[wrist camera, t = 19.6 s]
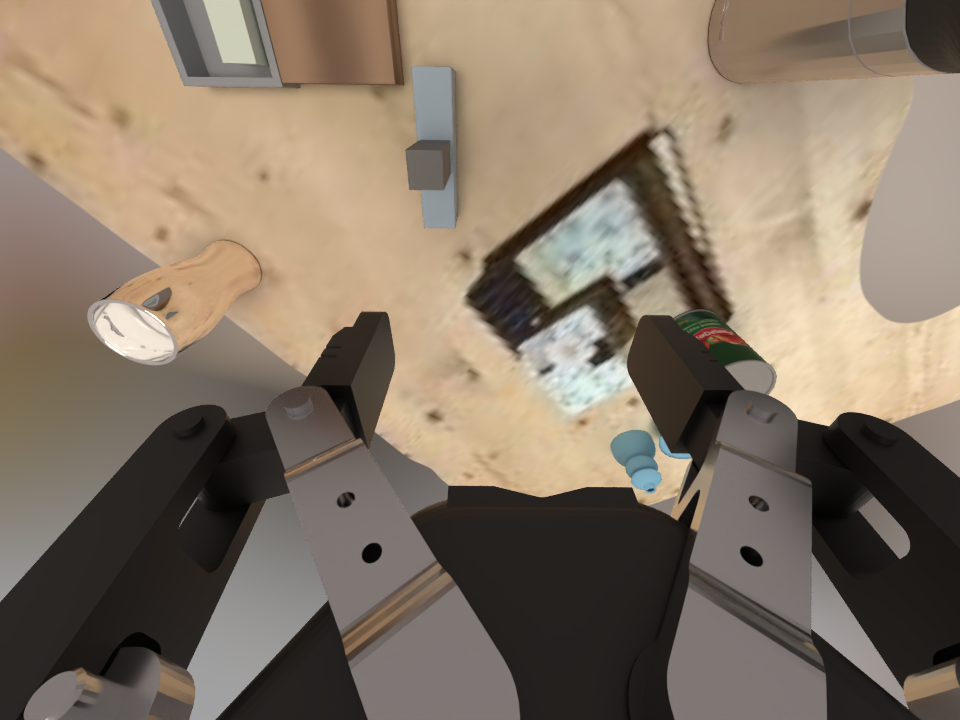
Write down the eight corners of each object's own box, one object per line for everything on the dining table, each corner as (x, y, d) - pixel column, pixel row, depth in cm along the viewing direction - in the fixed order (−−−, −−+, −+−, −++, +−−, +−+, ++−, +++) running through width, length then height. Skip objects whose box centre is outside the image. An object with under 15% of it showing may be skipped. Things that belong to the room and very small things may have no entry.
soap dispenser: (698, 380, 52) (733, 426, 45) (729, 414, 56) (765, 462, 49) (596, 438, 60) (612, 485, 52) (630, 465, 64) (649, 512, 57)
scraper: (455, 71, 31) (442, 59, 21) (457, 214, 38) (449, 254, 28) (420, 70, 31) (392, 58, 21) (430, 214, 38) (412, 253, 28)
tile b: (232, -23, 24) (195, -24, 24) (256, 63, 27) (222, 62, 27) (265, -8, 27) (233, -9, 27) (283, 67, 30) (254, 66, 30)
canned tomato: (703, 297, 44) (759, 347, 35) (731, 333, 47) (789, 388, 38) (646, 336, 47) (684, 391, 38) (676, 368, 50) (718, 425, 42)
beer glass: (263, 245, 40) (169, 309, 28) (268, 298, 44) (187, 374, 32) (196, 228, 39) (69, 287, 27) (207, 284, 43) (101, 357, 31)
